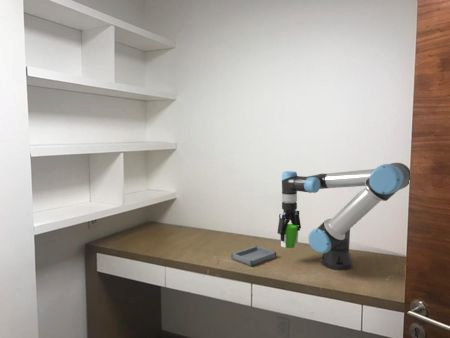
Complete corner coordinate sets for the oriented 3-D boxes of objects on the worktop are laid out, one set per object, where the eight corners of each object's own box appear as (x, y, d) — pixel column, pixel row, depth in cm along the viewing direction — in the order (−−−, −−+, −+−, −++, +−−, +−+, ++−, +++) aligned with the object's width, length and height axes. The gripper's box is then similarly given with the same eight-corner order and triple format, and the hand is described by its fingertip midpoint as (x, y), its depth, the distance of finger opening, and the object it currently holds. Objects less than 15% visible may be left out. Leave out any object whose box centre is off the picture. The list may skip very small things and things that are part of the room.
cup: (298, 249, 180) (298, 228, 179) (280, 249, 181) (280, 227, 180) (298, 244, 188) (298, 223, 187) (281, 243, 190) (280, 223, 189)
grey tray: (276, 257, 192) (276, 252, 191) (251, 266, 179) (251, 261, 179) (256, 250, 202) (256, 245, 202) (231, 259, 190) (231, 253, 189)
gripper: (296, 198, 193) (296, 238, 195) (269, 203, 178) (270, 247, 180) (308, 199, 187) (308, 241, 189) (281, 205, 173) (281, 251, 175)
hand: (289, 244), depth 185 cm, fingers closed on cup, 9 cm apart
